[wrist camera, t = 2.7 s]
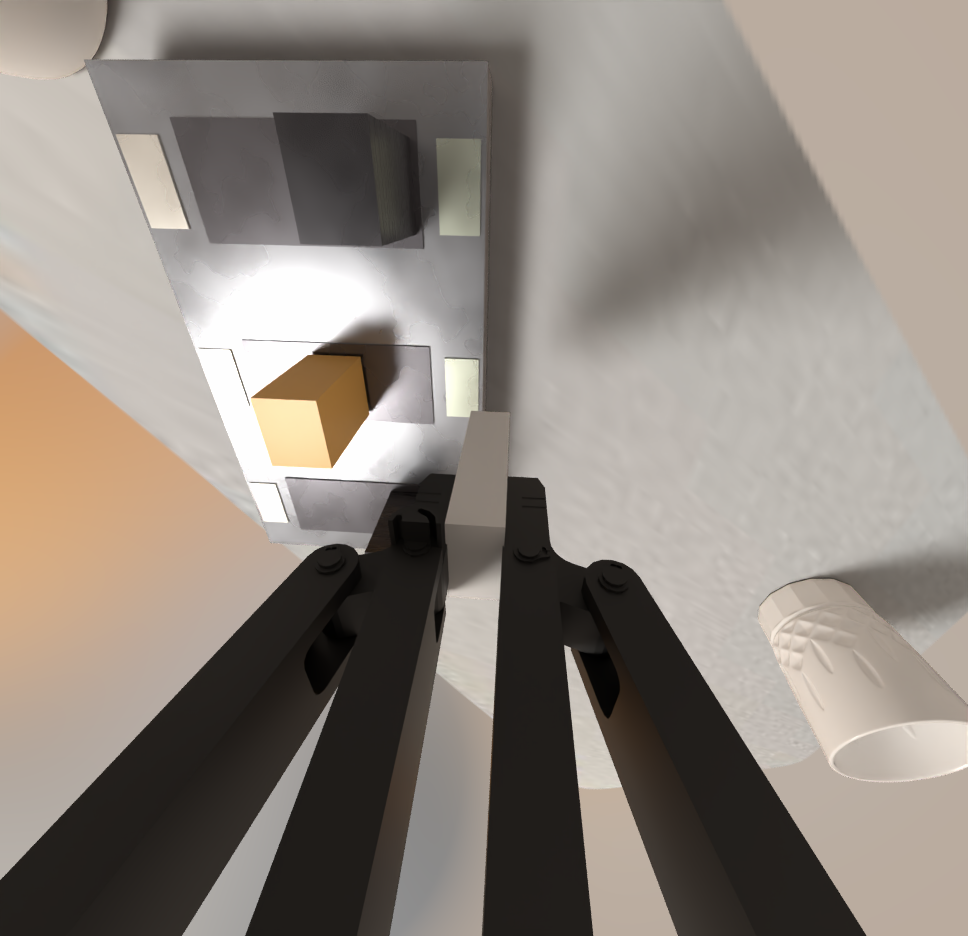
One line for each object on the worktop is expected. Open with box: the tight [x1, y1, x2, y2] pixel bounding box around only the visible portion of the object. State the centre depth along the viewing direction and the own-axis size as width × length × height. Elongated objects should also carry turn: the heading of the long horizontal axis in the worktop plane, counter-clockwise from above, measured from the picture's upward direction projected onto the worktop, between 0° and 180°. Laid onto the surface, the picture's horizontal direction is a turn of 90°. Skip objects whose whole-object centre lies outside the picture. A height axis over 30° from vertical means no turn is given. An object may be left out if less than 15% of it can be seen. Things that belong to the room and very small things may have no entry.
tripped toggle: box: [250, 355, 369, 469], centre depth 18 cm, size 3×2×5 cm
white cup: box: [758, 579, 968, 782], centre depth 27 cm, size 8×8×10 cm
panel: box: [84, 60, 492, 554], centre depth 19 cm, size 23×14×8 cm, turn 179°
